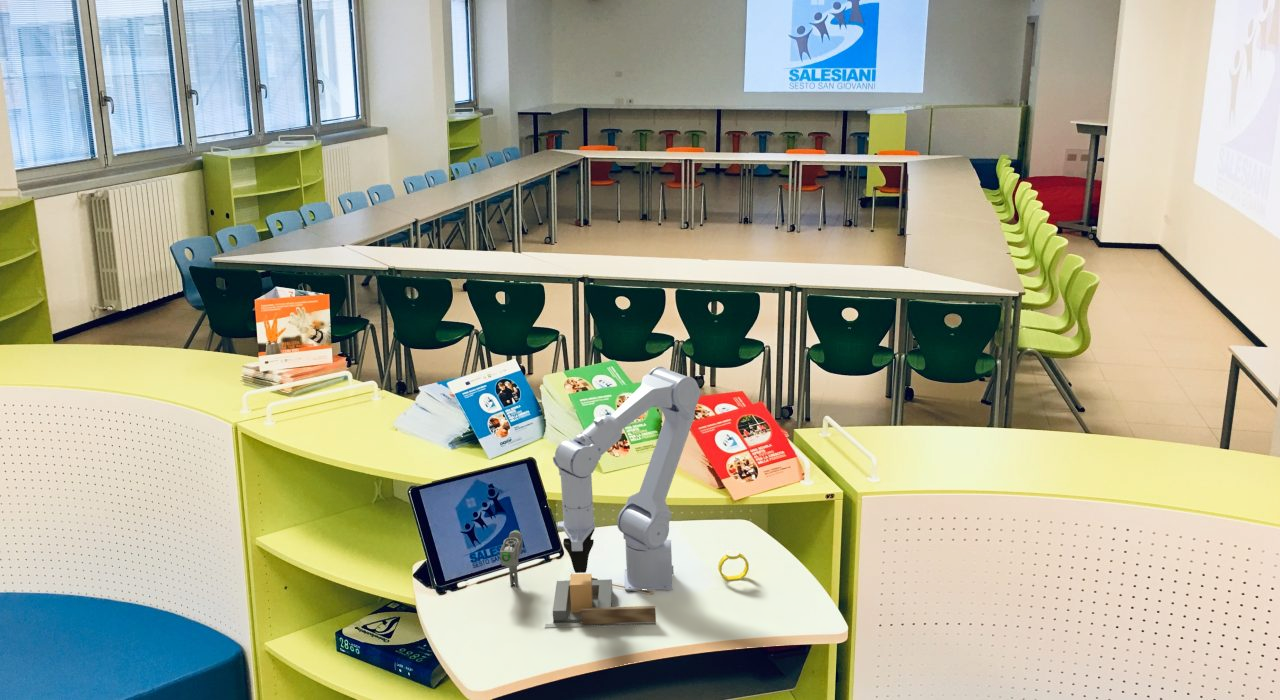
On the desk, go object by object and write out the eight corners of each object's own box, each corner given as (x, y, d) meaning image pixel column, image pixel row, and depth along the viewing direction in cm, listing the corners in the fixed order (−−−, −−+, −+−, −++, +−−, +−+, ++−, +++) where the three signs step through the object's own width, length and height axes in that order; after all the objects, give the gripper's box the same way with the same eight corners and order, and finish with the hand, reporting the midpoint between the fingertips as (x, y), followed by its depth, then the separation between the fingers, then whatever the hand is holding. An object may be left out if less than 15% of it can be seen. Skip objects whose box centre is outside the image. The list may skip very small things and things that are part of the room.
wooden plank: (655, 619, 207) (655, 605, 206) (655, 622, 206) (655, 608, 205) (582, 621, 207) (581, 608, 206) (581, 624, 206) (581, 610, 205)
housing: (654, 589, 218) (654, 578, 217) (655, 624, 206) (655, 612, 205) (550, 592, 218) (549, 581, 217) (544, 627, 206) (544, 615, 205)
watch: (721, 585, 220) (719, 559, 218) (718, 578, 222) (716, 552, 220) (750, 579, 220) (748, 553, 218) (747, 572, 223) (744, 547, 221)
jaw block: (592, 600, 214) (591, 573, 212) (592, 611, 210) (590, 584, 208) (572, 601, 214) (570, 574, 212) (571, 612, 210) (569, 585, 208)
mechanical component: (526, 572, 226) (523, 528, 223) (516, 598, 216) (512, 553, 213) (512, 571, 226) (508, 528, 223) (501, 598, 217) (498, 553, 214)
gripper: (558, 486, 212) (562, 548, 216) (553, 520, 198) (557, 586, 202) (595, 485, 211) (598, 547, 216) (592, 519, 198) (595, 585, 202)
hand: (581, 566), depth 209 cm, fingers open, 3 cm apart
